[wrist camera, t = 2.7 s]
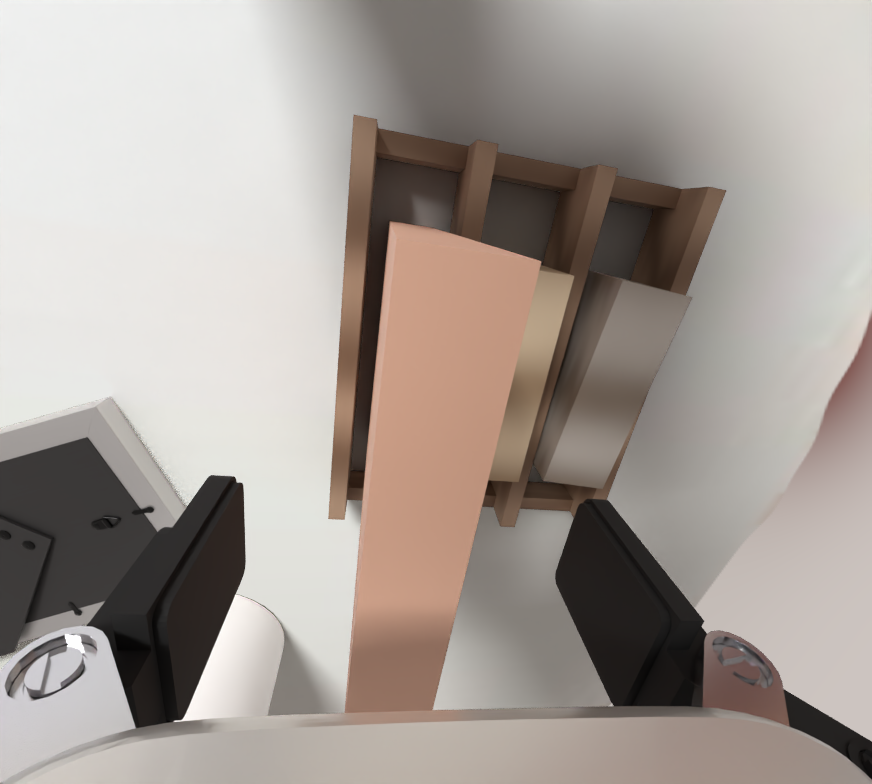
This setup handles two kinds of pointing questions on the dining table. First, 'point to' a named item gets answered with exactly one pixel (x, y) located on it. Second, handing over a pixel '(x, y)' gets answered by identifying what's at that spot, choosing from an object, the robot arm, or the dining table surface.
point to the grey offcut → (605, 376)
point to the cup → (240, 665)
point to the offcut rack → (566, 251)
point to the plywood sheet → (429, 452)
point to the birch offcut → (531, 372)
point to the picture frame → (73, 516)
